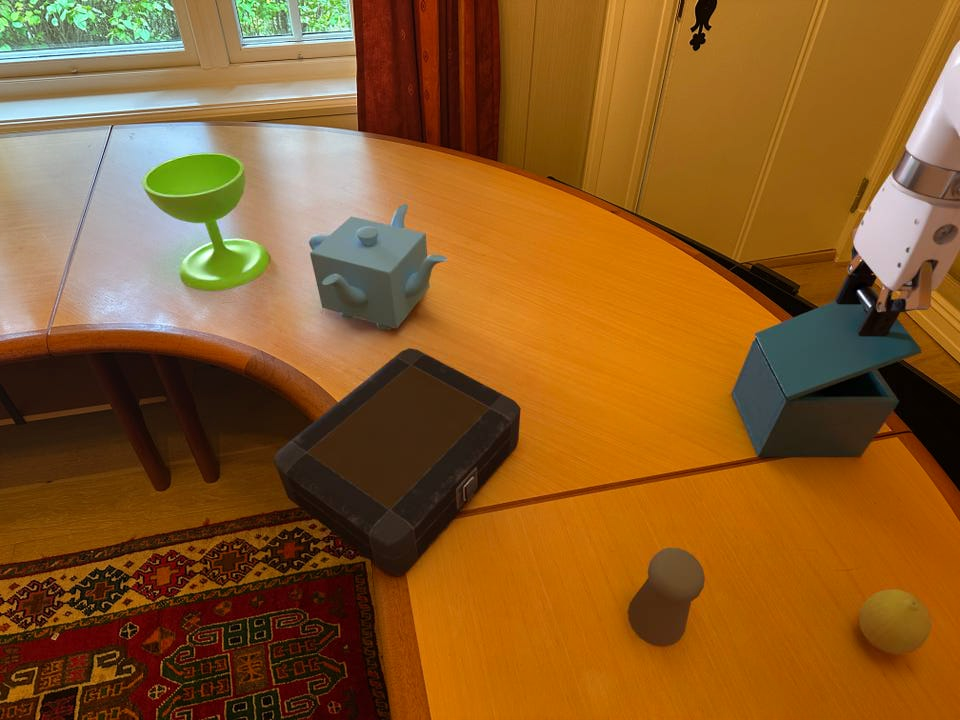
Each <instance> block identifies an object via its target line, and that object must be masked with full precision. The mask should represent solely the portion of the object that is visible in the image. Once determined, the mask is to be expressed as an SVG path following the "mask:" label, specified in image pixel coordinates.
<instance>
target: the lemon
mask: <svg viewBox="0 0 960 720" xmlns="http://www.w3.org/2000/svg"><path fill="white" fill-rule="evenodd" d="M858 621H859V628H860V629H861V632H862V634H863V636H864V637H865V639H866V640H867V641H868V642H869V643H870V644H871V645H873V646H874V647H875V648H877V649H878V650H880V651H882V652H885V653H888V654H890V655H891V654H892V655H904V654H910V653H913V652H915V651H917V650H918V649H919V648H921V647H922V646H923V645H924V644H925V642H926V641H927V640H928V638H929V636H930V634H931V630H932V617H931V614H930V612H929V610H928V609H927V606H926V605H925V604H924V603H923V602H922V601H921V600H920V599H919V598H918V597H917V596H915V595H914V594H912V593H910V592H908V591H905V590H901V589H896V588H890V589H889V588H888V589H883V590H881V591H880V590H879V591H878V592H875V593H873V594H872V595H871V596H869V597H868V598H867V599H865V601H864V602H863V604H862V606H861V608H860V609H859V614H858Z"/></svg>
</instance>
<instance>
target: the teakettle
mask: <svg viewBox="0 0 960 720" xmlns="http://www.w3.org/2000/svg"><path fill="white" fill-rule="evenodd" d="M408 209H409V205H408V204H407V203H402V204H400V205H399V206H398V207H397V208H396V209H395V211H394V213H393V216H392V219H391V222H390V224H387V223H382V222H377V221H373V220H370V219H366V218H365V219H364V218H360V217H355V216H350V217H348V219H346V220H345V221H344V222H343V223H342V224H341V225H339V226H338V227H337V228H336V229H335V230H334V231H332V233H330V234H323V233H320V234H319V233H317V234H314V235H312V236H311V237H310V238H309V239H308V244H309V247H310V248H311V250H312V251H310V252H309V256H310V260H311V264H312V269H313V273H314V277H315V283H316V287H317V290H318V295H319V299H320V300H319V301H320V304H321V308H322V309H325V310H329V311H332V312H335V313H339V315H340V317H341V318H342V319H346V320H349V319H350V320H351V319H354V318H357V319H361V320H364V321H368V322H371V323H375V324H377V327H378V328H379V329H380V330H391V329H398V328H399V327H400V325H401V324H402V323H403V322H404V320H405V319H406V318H407V317H408V316H409V314H410V313H411V311H412V310H413V309H414V308H415V307H416V306H417V304H418V303H419V302H420V300H421V299H422V298H423V297H424V296H425V294H426V293H427V292H428V290H429V289H430V287H431V286H430V279H431V276H432V271H433V268H434V267H435V265H437V264H440V263H443V262H447V261H448V257H446V256H444V255H441V254H430V255H428V245H427V235H426V233H424V232H422V231H421V232H420V231H417V230H414V229H413V230H412V229H408V228H405V217H406V214H407V211H408Z"/></svg>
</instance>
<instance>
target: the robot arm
mask: <svg viewBox="0 0 960 720" xmlns="http://www.w3.org/2000/svg"><path fill="white" fill-rule="evenodd" d="M903 147H904V148H903V149H902V150H901V151H902V152H900V153H901V154H900V155H899V158H898V160H897V161H896V163H895V166H894V168H893V170H892V171H891V173H890V174H889V175H888V176H887V178H886V179H885V181H884V182H883V183H882V185H881V187H880V188H879V190H878V191H877V193H876V194H875V196H874V197H873V199H872V201H871V202H870V205H869V206H868V208H867V210H866V211H865V213H864V215H863V217H862V219H861V221H860V223H859V225H858V226H856V227H854V228H853V229H852V232H851V237H852V247H851V261H850V262H849V263H848V265H847V267H846V270H847V273H848V274H847V275H846V277H845V279H844V281H843V283H842V285H841V287H840V288H839V291H838V293H837V295H836V297H835V299H834V301H836V303H837V304H840V305H861V302H860V301H859V300H858V298H857V297H856V296H855V294H854V293H853V289H854V287H855V286H856V285H858V284H860V283H868V284H869V285H870V286H871V287H872V288H873V286H874V285H875V282H876V281H877V279H879V281H880V282H881V283H882V285H881V289H880V291H879V294H878V295H879V298H878V301H877V304H876V306H871V307H870V308H869V310H868V312H867V313H866V315H865V317H864V319H863V321H862V322H861V324H860V326H859V328H858V330H857V333H858V335H859V336H863V337H883V336H886V335H887V334H888V332H889V330H890V329H891V327H892V325H893V324H894V322H895V321H896V319H898V317H899V316H900V314H901V313H906V312H910V311H926V310H929V309H930V308H931V305H932V292H934V291H936V290H937V289H938V288H939V286H940V285H941V284H942V282H943V281H944V279H945V278H946V275H948V273H949V270H950V269H951V267H952V266H953V264H954V262H955V260H956V258H957V256H958V254H959V253H960V39H959V40H958V42H957V43H956V44H955V46H954V47H953V48H952V51H951V53H950V54H949V57H948V58H947V61H946V63H945V65H944V67H943V69H942V71H941V73H940V74H939V77H938V79H937V81H936V83H935V85H934V87H933V89H932V91H931V93H930V95H929V96H928V99H927V101H926V104H925V105H924V107H923V109H922V110H921V113H920V115H919V117H918V120H917V121H916V123H915V126H914V127H913V129H912V131H911V134H910V136H909V138H908V140H907V142H906V144H905V145H904V146H903ZM894 292H900V293H899V296H898V298H895V299H894V298H893V299H892V297H893V293H894Z"/></svg>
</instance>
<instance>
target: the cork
mask: <svg viewBox="0 0 960 720" xmlns="http://www.w3.org/2000/svg"><path fill="white" fill-rule="evenodd" d="M647 576H648V577H647V578H646V580H645V581H644V582H643V584H642V585H641V587H640V588H639V589H638V591H637V592H636V593H635V594H634V596H633V597H632V599H631V600H630V601H629V603H628V608H627V616H628V622H629V624H630V626H631V628H632V630H633V631H634V632H635V634H636V635H637V636H638V637H639V638H640V639H641V640H643V641H644V642H646V643H647V644H650V645H653V646H655V647H668V646H673V645H675V644H676V643H678V641H680V640H681V639H682V638H683V636H684V634H685V632H686V628H687V623H688V618H689V617H688V616H689V613H690V608H691V605H692V602H693V601H694V600H696V599H697V598H698V597H699V596H700V595H701V593H702V591H703V590H704V587H705V581H706V577H705V572H704V568H703V566H702V565H701V562H700V561H699V560H698V559H697V558H696V557H695V556H694V555H693V554H692V553H691V552H689V551H688V550H686V549H682V548H679V547H667V548H663V549H661V550H659V551H657V552H655V554H654V555H653V557H652V558H651V559H650V561H649V564H648V569H647Z"/></svg>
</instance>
